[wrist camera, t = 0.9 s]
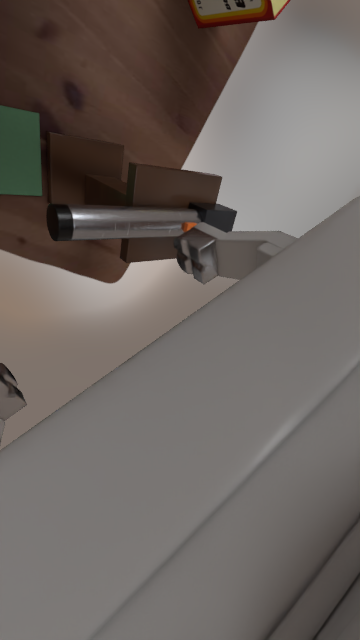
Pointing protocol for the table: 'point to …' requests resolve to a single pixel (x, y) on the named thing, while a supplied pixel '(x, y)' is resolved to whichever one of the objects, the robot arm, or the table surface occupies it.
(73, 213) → the flashlight
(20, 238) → the table surface
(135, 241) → the stand
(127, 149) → the table surface
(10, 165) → the cloth
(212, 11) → the baking soda box
